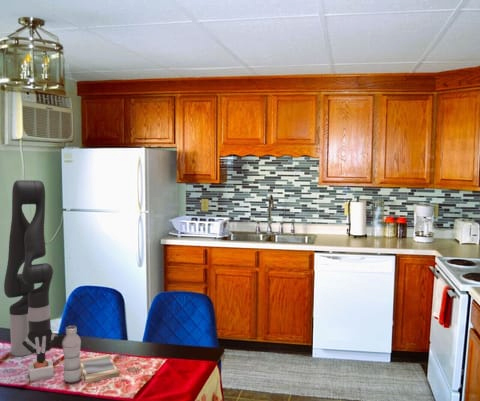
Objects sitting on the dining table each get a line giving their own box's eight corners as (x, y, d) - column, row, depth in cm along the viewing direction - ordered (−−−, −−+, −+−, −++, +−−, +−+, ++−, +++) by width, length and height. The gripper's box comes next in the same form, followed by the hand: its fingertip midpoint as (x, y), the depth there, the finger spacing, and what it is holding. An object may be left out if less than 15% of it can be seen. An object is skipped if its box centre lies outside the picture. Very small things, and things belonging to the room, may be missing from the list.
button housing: (29, 372, 179) (28, 362, 179) (51, 368, 183) (51, 358, 182) (30, 381, 172) (29, 371, 172) (53, 377, 175) (53, 366, 175)
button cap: (34, 371, 178) (34, 361, 178) (46, 369, 180) (46, 359, 179) (35, 375, 174) (35, 365, 174) (47, 373, 176) (46, 363, 176)
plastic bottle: (76, 385, 169) (74, 331, 167) (59, 383, 170) (57, 330, 169) (85, 377, 175) (84, 325, 173) (69, 375, 177) (67, 323, 175)
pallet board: (78, 363, 187) (78, 359, 187) (109, 357, 192) (109, 353, 192) (86, 383, 171) (85, 378, 171) (119, 376, 176) (119, 371, 176)
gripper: (57, 311, 181) (58, 355, 183) (19, 316, 175) (21, 361, 177) (59, 317, 175) (61, 362, 176) (20, 323, 169) (22, 369, 170)
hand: (41, 362), depth 177 cm, fingers closed
